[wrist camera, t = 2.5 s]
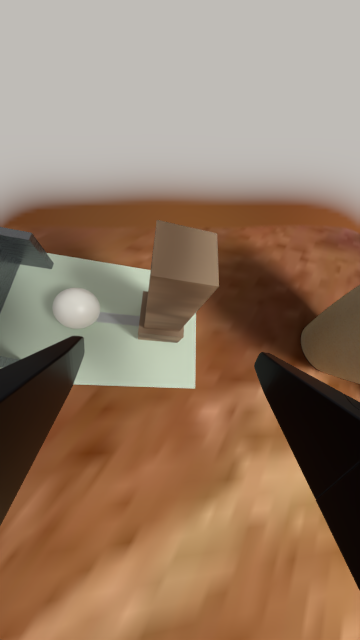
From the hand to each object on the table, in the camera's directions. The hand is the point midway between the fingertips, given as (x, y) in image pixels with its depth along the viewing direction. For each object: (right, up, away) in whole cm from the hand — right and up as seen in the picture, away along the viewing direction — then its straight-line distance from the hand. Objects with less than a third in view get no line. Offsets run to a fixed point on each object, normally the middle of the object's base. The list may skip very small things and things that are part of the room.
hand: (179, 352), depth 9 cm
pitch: (-8, +2, +11) cm, 14 cm away
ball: (-10, +3, +8) cm, 13 cm away
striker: (-2, +1, +12) cm, 12 cm away
